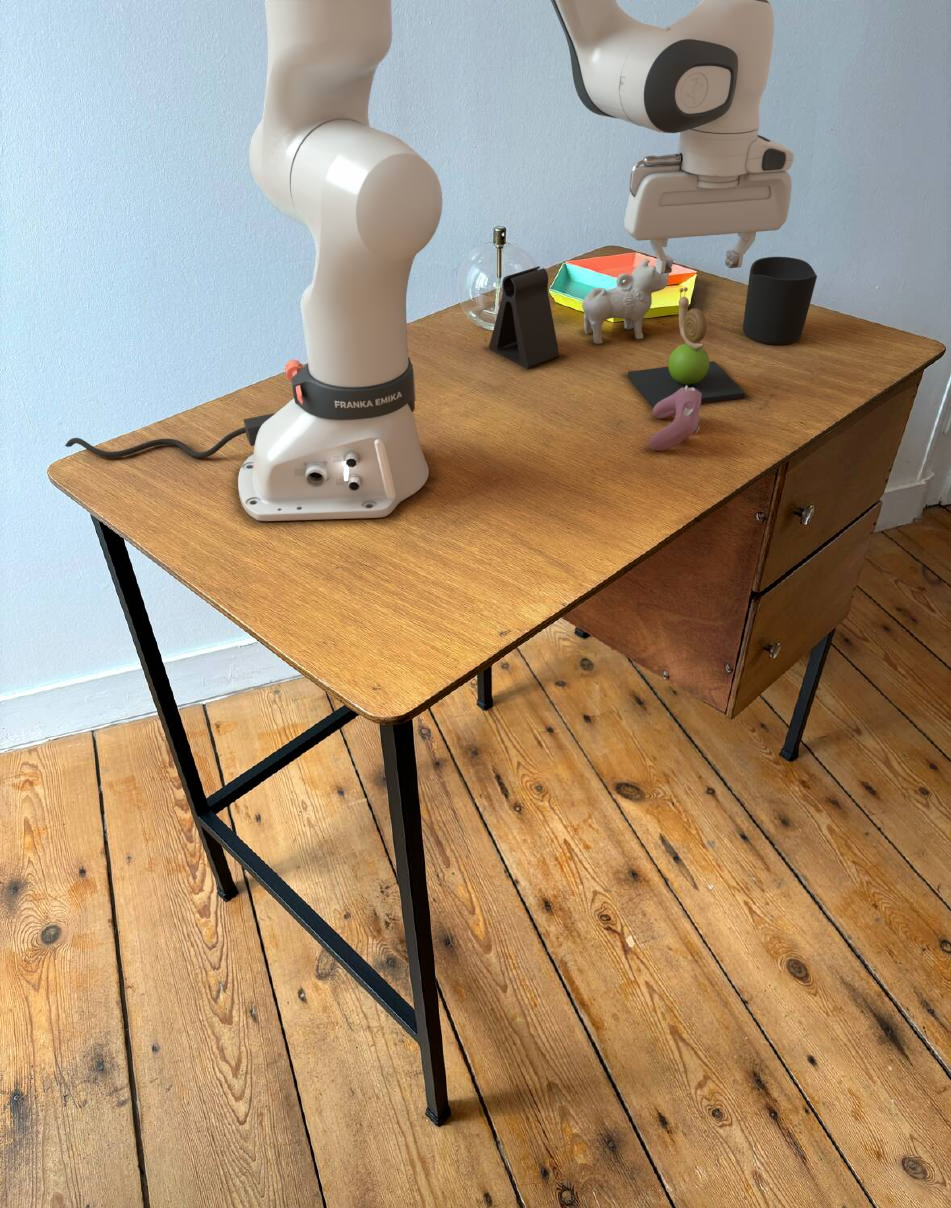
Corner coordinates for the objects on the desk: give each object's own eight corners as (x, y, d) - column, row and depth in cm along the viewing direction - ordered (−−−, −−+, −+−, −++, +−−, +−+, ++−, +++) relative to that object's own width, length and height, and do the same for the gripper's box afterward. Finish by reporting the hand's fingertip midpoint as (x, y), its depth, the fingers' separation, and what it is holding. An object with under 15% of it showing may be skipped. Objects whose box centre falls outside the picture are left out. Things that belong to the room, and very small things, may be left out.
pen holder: (815, 333, 145) (830, 267, 138) (783, 352, 139) (797, 285, 133) (760, 316, 150) (772, 251, 143) (727, 334, 144) (738, 268, 138)
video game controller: (676, 466, 118) (709, 423, 114) (644, 448, 118) (676, 404, 113) (679, 427, 126) (710, 385, 121) (649, 410, 125) (679, 368, 121)
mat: (653, 409, 127) (654, 404, 126) (627, 376, 134) (627, 371, 134) (744, 397, 129) (745, 392, 128) (713, 366, 136) (714, 361, 136)
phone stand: (488, 348, 142) (488, 267, 134) (520, 337, 145) (521, 258, 137) (527, 369, 136) (529, 286, 129) (559, 357, 139) (563, 276, 131)
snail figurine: (688, 367, 134) (700, 283, 127) (714, 387, 130) (728, 300, 122) (654, 375, 133) (664, 290, 125) (679, 394, 128) (691, 307, 120)
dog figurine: (668, 335, 145) (677, 265, 138) (589, 346, 142) (594, 274, 135) (653, 321, 149) (661, 252, 142) (576, 331, 146) (580, 262, 139)
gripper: (642, 163, 108) (629, 284, 117) (807, 153, 112) (782, 271, 120) (622, 149, 113) (612, 267, 121) (781, 140, 116) (760, 255, 125)
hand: (698, 269), depth 121 cm, fingers open, 8 cm apart
